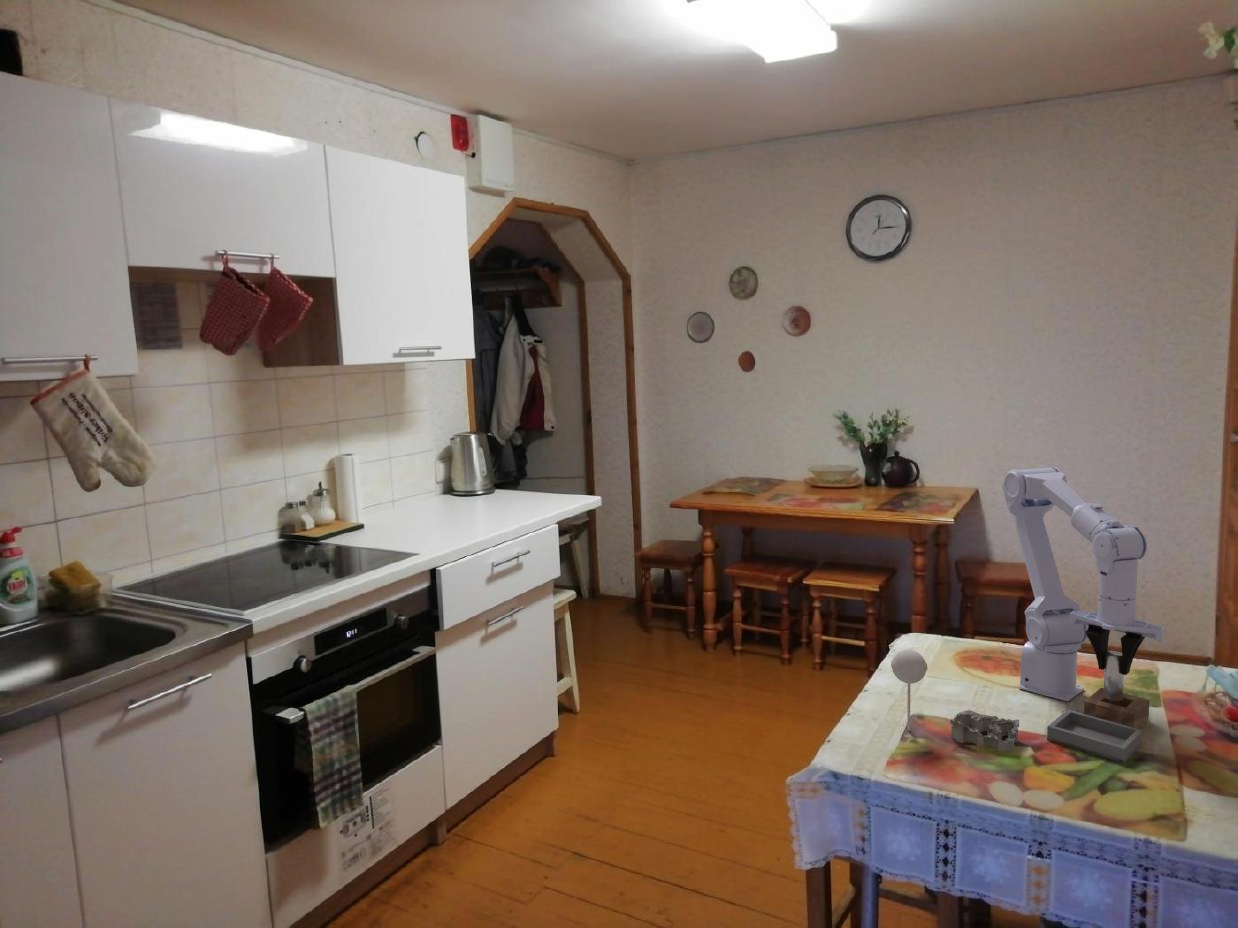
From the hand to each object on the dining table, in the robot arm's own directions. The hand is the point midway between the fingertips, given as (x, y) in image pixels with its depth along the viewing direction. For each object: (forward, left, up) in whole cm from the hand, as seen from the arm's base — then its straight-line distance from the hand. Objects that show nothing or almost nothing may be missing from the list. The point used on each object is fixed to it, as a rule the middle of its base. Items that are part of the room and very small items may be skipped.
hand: (1114, 670), depth 150 cm
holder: (0, +3, -11) cm, 11 cm away
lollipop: (-25, -25, -11) cm, 37 cm away
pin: (0, 0, -5) cm, 5 cm away
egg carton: (-14, -19, -11) cm, 26 cm away
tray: (0, -8, -11) cm, 13 cm away
